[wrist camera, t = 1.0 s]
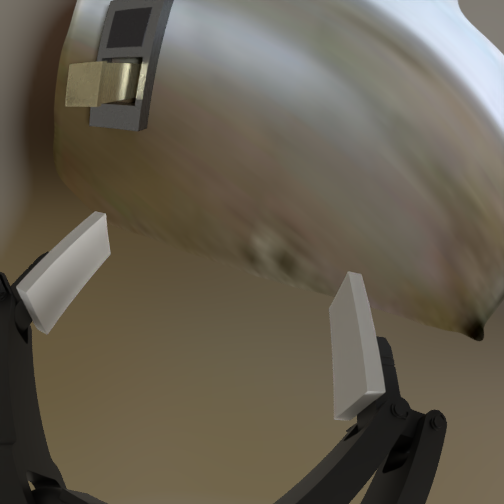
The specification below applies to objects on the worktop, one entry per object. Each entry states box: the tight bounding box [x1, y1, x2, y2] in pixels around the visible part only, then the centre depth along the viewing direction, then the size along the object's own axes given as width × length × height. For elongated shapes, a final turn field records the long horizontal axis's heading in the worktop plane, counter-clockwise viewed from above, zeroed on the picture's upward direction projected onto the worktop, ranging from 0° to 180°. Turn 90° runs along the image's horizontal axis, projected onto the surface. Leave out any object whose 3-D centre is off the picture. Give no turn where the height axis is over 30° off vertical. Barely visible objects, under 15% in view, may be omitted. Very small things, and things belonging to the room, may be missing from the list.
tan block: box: [65, 61, 142, 107], centre depth 25 cm, size 5×5×10 cm
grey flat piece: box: [89, 0, 173, 131], centre depth 27 cm, size 20×9×3 cm, turn 167°
